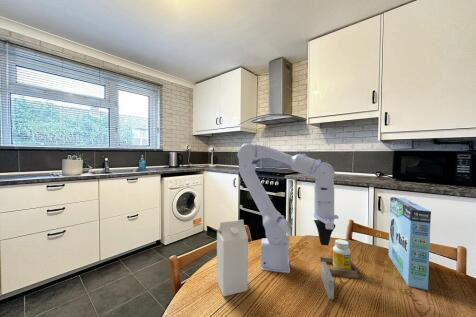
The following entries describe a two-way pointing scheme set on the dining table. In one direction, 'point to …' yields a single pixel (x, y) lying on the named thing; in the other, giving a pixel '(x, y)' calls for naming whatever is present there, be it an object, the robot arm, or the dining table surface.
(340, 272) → the brown u-shaped frame
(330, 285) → the locking bar
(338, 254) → the supplement bottle
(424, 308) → the dining table surface
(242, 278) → the milk carton
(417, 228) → the gum box
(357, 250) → the dining table surface
